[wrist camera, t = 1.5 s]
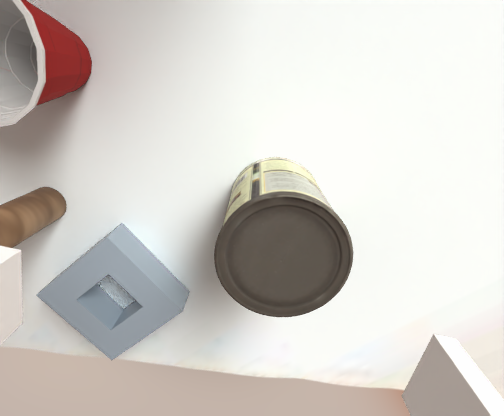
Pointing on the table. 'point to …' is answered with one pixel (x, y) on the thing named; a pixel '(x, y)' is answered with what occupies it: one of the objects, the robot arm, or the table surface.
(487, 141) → the table surface
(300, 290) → the coffee can
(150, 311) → the socket block
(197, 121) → the table surface
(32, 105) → the plastic cup
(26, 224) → the peg
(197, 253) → the table surface
